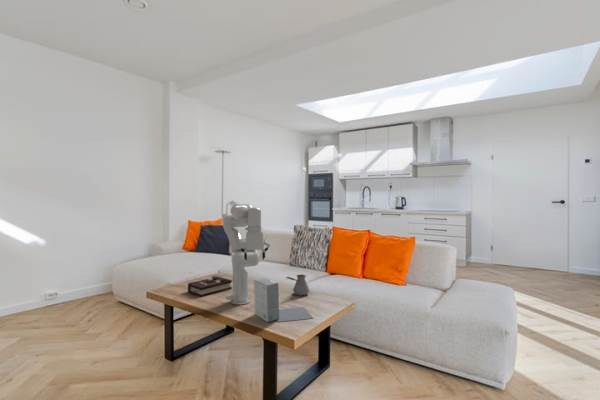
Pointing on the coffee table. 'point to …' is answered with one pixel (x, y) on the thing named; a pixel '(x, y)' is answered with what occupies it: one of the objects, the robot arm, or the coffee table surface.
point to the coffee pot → (300, 285)
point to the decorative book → (209, 286)
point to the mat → (293, 314)
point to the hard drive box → (266, 299)
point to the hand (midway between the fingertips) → (254, 259)
